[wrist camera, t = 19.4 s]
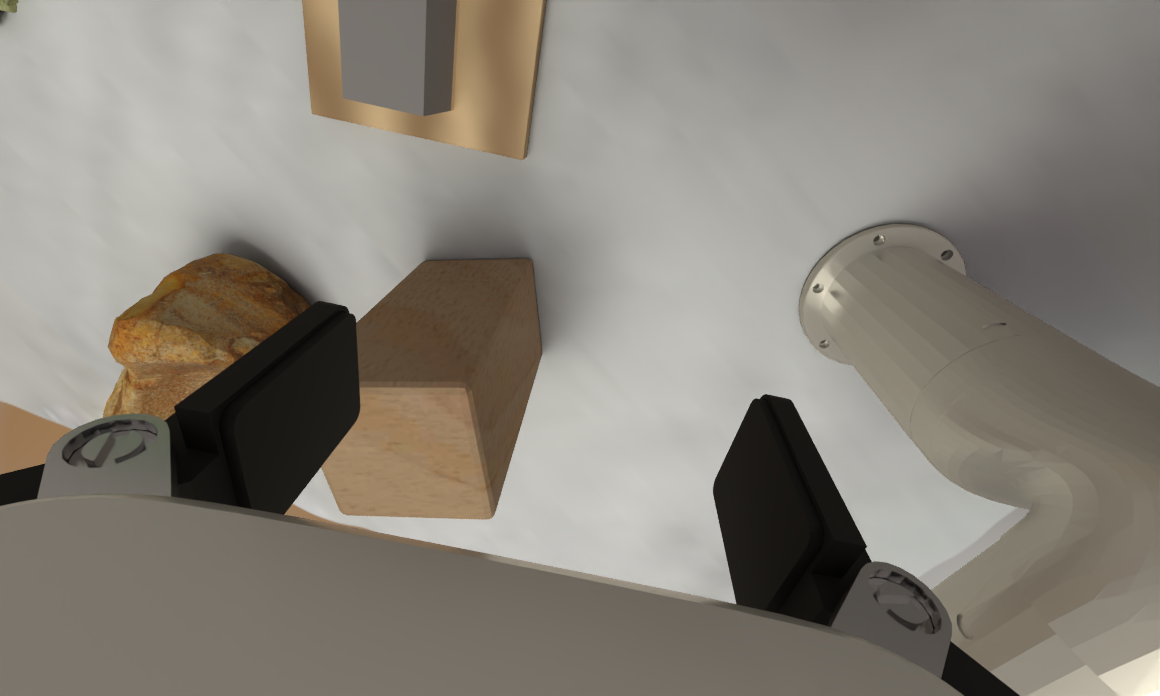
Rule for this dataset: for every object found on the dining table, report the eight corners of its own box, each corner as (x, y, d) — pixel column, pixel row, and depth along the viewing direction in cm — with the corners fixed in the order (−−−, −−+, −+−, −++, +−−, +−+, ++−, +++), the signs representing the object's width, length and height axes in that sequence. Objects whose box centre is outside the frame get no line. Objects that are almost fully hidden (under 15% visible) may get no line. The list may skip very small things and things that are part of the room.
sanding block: (461, -27, 30) (427, -48, 25) (453, 110, 34) (423, 116, 29) (383, -45, 30) (334, -69, 25) (385, 94, 34) (342, 98, 29)
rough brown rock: (335, 461, 57) (265, 577, 44) (184, 407, 53) (58, 518, 40) (398, 308, 47) (331, 400, 34) (217, 226, 42) (63, 295, 30)
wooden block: (421, 259, 42) (281, 386, 25) (533, 256, 41) (466, 387, 24) (443, 356, 47) (338, 518, 30) (543, 355, 46) (494, 523, 29)
